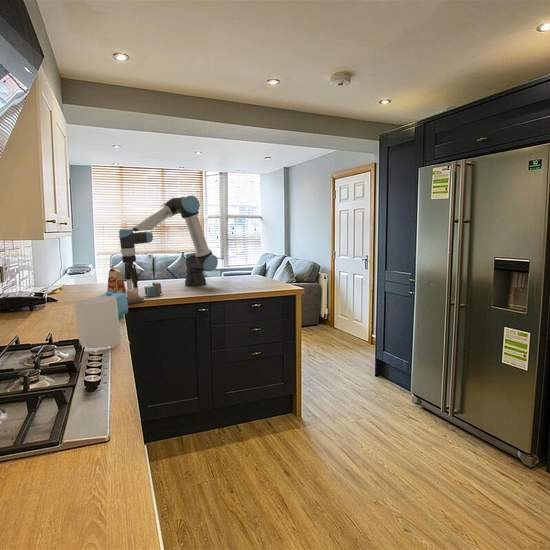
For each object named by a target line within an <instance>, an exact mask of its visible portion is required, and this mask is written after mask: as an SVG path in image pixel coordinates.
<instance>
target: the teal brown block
mask: <svg viewBox="0 0 550 550" xmlns="http://www.w3.org/2000/svg"><path fill="white" fill-rule="evenodd" d="M162 291H163V290H162V283H161V282H158V281H153V282H152V284H151V285H145V286H144V295H146V296H145V297H147V296H150V297H152V296H151V295H159V296H161V295H160V294H162V295H163V292H162Z"/></svg>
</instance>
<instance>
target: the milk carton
mask: <svg viewBox="0 0 550 550" xmlns="http://www.w3.org/2000/svg"><path fill="white" fill-rule="evenodd" d="M107 278H108V279H107V290H106V292H110V291H111V292H112V293H118V291H120V290H122V292H121V293H127V289H126V288H127V287H126V284H125V280H124V276H123V273H122V271H121V270H120V269H119V267H113V266H111V267H110V270H109V271H108V277H107Z"/></svg>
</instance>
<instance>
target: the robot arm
mask: <svg viewBox="0 0 550 550" xmlns="http://www.w3.org/2000/svg"><path fill="white" fill-rule="evenodd" d="M200 205H201V204H200V201H199V198H198V197H196V196H195V195H193V194H183V195H176V196H173V197H171V198H170V199H169V200H167V201H166V202H164V203H163V204H161V207H160V208H158V210H156V211H155V212H153V213H151V214H150V215H149V216H148V217H146V218H145V219H144V220H142V221H141V222H139V223H138V224H137V225H135V226H134V227H132V228H121V229H119V231H118V239H119V244H120V250H119V251H120V253H121V260H122V263H124V278H125V280H126V288H127V289H126V290H133V293H134V294H135V293H138V294H139V284H138V282H139V277H138V274H137V269H136V264H134V262H136V261H137V257H136V248H135V245H140V244H149V243H152V241H153V240H154V236H153V232H152V230H153V229H155V228H156V227H157V226H159V225H160V224H161V223H163V222H164V221H165V220H167V219H168V218H172V217H173V216H175V215H177V214H180V215H181V218H182V219H183V220H184V221H185V223H186V226H187V228H188V232H189V235H190V238H191V240H192V241H191V242H192V244H193V246H194V250H195V252H190V253H186V254H185V269H186V275H185V280H184V284H185V286H187V287H195V286H196V287H198V286H203V285H206V284H207V280H206V277H205V275H204V272H213V271H215V270H216V269H217V267H218V264H219V260H218V257H217V256H216V255H214V254H213V251H212V250H211V249H210V248H209V246H208V243H207V240H206V236H205V233H204V231H203V229H202V225H201V222H200V219H199V214H200V212H199V210H200V207H201V206H200Z"/></svg>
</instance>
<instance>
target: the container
mask: <svg viewBox="0 0 550 550" xmlns="http://www.w3.org/2000/svg"><path fill="white" fill-rule="evenodd" d="M74 307H75V308H74V309H75V315H76V324H77V325H76V326H77V332H78V333H77V334H78V340H79V344H80V343H81V345H82V346H84V347H87V348H98V347H108V346H110V347H111V348H112V349H115V348H116V347H119V346H120V345H121V344H122V340H121V339H122V338H121V329H120V320H119V319H120V318H119V317H118V308H117V298H116V297H112V296H101V297H97V296H93V297H86V298H82V299H78V300H75V302H74Z"/></svg>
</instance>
